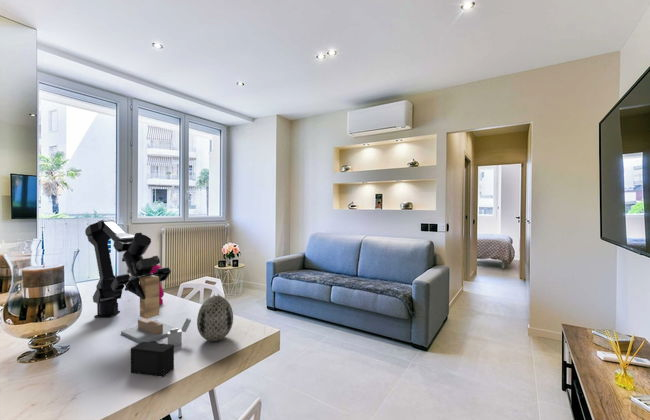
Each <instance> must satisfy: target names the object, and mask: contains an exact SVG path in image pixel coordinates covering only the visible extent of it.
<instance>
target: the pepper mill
mask: <svg viewBox="0 0 650 420" xmlns="http://www.w3.org/2000/svg"><path fill="white" fill-rule="evenodd" d="M152 268H153V270H152V271H150V273H156V271H157V270H158V268H163V267H162V266H161V265H159V264H157V265H156V266H154V267H152ZM164 295H165V292H164V289H163V286H162V285H161V281H160V282H159V306H161V305H163V303H164V302H163V301H164V299H163V297H164Z"/></svg>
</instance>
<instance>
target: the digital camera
mask: <svg viewBox="0 0 650 420" xmlns="http://www.w3.org/2000/svg"><path fill="white" fill-rule="evenodd" d="M174 369H175V346H174V345H171V344H168V343H159V342H157V340H156V341H150V342H141V343H140V342H139V343H137V344H136V345H134V346H132V347H131V348H130V373H131V374H136V375H144V376H145V375H146V376H151V375H152V376H154V377H159V376H161V378H164V377H165V376H167V375H168V374H169V373H170V372H172V371H173V370H174ZM166 374H167V375H166Z"/></svg>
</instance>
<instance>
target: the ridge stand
mask: <svg viewBox="0 0 650 420" xmlns="http://www.w3.org/2000/svg"><path fill="white" fill-rule="evenodd" d="M174 328H176V327H175V326H171V325H170V324H167V323H164V322H161V321H158V320H156V319H151V318H148V319H146V318H143V317H141V318H139V319H137V325H136V326H132V327H129V328H127V329H123V330H121V331H120V334H121V335H122V336H125V337H127V338H129V339H131V340H134V341H136V342H138V343H139V344H140V343H141V342H150V341H156V342H157V341H158V340H160V339H163V338H166V337H168V335H167V332H170V330H171V329H174ZM178 330H180V329H179V328H178Z"/></svg>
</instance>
